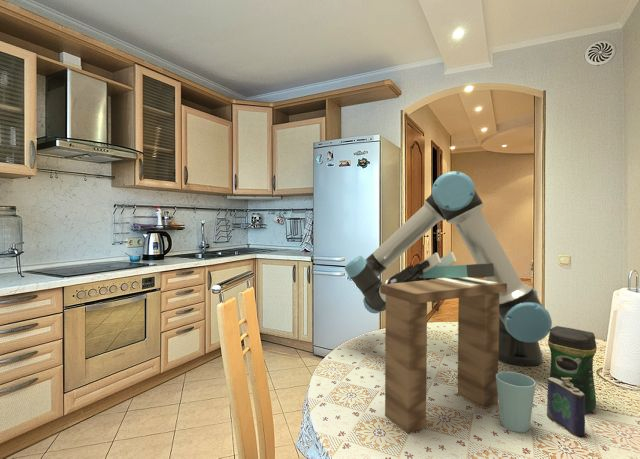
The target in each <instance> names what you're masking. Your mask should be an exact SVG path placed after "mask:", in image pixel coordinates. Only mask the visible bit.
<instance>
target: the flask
mask: <svg viewBox="0 0 640 459" xmlns="http://www.w3.org/2000/svg"><path fill="white" fill-rule="evenodd" d="M549 377H550V376H549ZM549 377H548V378H547V381H546V382H547V397H546V398H547V400H546V402H547V403H546V417H547V418H548V419H550V420H551V421H553V422H555V423H556V424H557V425H558V426H559V427H562V428H564V430H566V431H567V432H569V433H570V434H572V436H573V437H577V438H580V439H582V438H583V439H584V438H586V418H585V417H586V412H585V395H584V393H582V392H581V391H580V390H579V389H577V388H575V387H573V386H574V385H573V384H572V383H571V382H570V379H572V378H569V377H567V378H562V377H561V379H562V380H563V381H561V380H559V379H556V378H552V377H550V378H549Z"/></svg>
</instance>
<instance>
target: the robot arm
mask: <svg viewBox="0 0 640 459" xmlns="http://www.w3.org/2000/svg"><path fill="white" fill-rule="evenodd" d="M423 202H424V203H423V206H422V207H420V208H419V209H418V210H417V211H416V212H415V213H414V214H413V215H412V216H410V218H409V219H407V221H405V223H403V224H402V225H401V226H399V228H398V229H397V230H396V231H395V232H393V233H392V234H391V236H389V237H388V238H387V239H386V240H385V241H384V242H383V243H382V244H381V245H379V247H378V248H376V249H375V250H374V251H373V252H372V253H371V254H370V255H368V257H367V258H365V257H363V256H362V255H358V256H357V257H355V258H353V259H351V261H349V262H348V263H347V264H346V265H345V266H344V270H345V271H346V273H347V275H348V277H349V278H350V279H351V280H352V282H353V283H354V285H356V287H357V289H358V290H359V291H360V292H361V293H362V295H363V299H362V300H363V305H364V308H365V309H366V310H367V311H368V312H369V313H371V314H379V313H382V312H385V311H386V295H385V294H382V293H381V284H392V283H402V282H413V281H423V280H434V279H435V278H419V276H421V275H423V272H427V271H428V270H430V269H431V268H433V267H435V266H449V265H453V264H455V263H457V258H456V256H455V252H454V251H450V252H449V253H447V254H446V255H444V256H442V257H441V258H440V256H439V252H434V253H433V254H432V255H430V256H428V257H426V258H425V259H424V260H423V261H421V262H420V263H416V264H415V265H413V264H409V266H407V267H405V268H404V269H403V270H401V271H400V272H397V273H395V274H393V275H392V276H391V277H390V278H388V279H386V280H385V281H383V282H382V280H381V278H379V276H380V275H381V274H382V273H383V272H385V270H387V268H389V266H391V265H392V264H393V263H394V262H395V261H397V259H399V258H400V257H401V256H402V255H403V254H404V253H406V251H408V250H409V249H410V248H412V246H413V245H414V244H416V242H418V241H419V240H420V239H421V238H423V236H424V235H425V234H427V233H428V232H429V231H430V230H431V229H433V227H434V226H435V225H437V224H438V223H439V222H441V221H446V222H447V223H448V224H452V225H453V226H454V227H455V228H456V230H457V232H458V234H459V235H460V237H461V239H462V241H463V242H464V244H465V246H466V248H467V249H468V252H469V253H470V255H471V257H472V258H473V260H474V262H475V264H488V263H493V268H494V276H493V277H483V279H485V280H490V281H496V282H502V283H507V292H501V293H499V359H498V361H500V362H503V363H506V364H510V365H515V366H525V367H528V366H529V367H530V366H531V367H532V366H533V367H534V366H537V365H541V364H542V363H543V353H542V350H541V346H540V343H539V341H541V340H543V339H545V338H546V337H547V336H549V333H550V330H551V329H552V328H553V327H552V325H553V323H552V322H553V321H552V316H551V315H550V312H549V311H548V310H547V309H546V307H544V306H543V304H542V303H541V301H540V299H539V296H538V291H537V290H536V289H535V288H532V286H531V285H529V284H526V283H523V281H522V280H521V278H520V275H519V274H518V273H517V271H516V269H515V267H514V265H513V264H512V262H511V260H510V258H509V257H508V254H506V251H505V250H504V248H503V247H502V245H501V244H500V241H499V240H498V238H497V236H496V234H495V232H494V230H493V229H492V228H491V225H490V223H489V222H488V221H487V219H486V217H485V216H484V214H483V212H482V210H483V207H484V202H483V201H482V199H481V197H480V196H479V194H478V192H477V190H476V187H475V183H474V181H473V180H472V178H471V177H470V176H469V175H468V174H466V173H464V172H461V171H458V170H457V171H456V170H454V171H453V170H452V171H447V172H445V173H442V174H440V176H439V177H437V178H436V180H435V181H434V183H433V185H432V188H431V194H430V195H429V196H428V197H427V198H426V199H425V200H424V201H423ZM422 270H423V272H422Z"/></svg>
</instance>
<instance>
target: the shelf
mask: <svg viewBox="0 0 640 459" xmlns="http://www.w3.org/2000/svg"><path fill="white" fill-rule="evenodd" d="M501 292H507V283H502V282H496V281H490V280H485V278H480V277H464V278H434V279H432V280H423V281H413V282H402V283H392V284H381V293H382V294H385V295H386V310H385V343H384V344H385V346H384V347H385V354H384V356H385V360H384V361H385V362H384V364H385V366H384V367H385V368H384V369H385V370H384V374H385V375H384V380H385V382H384V386H385V387H384V388H385V389H384V390H385V391H384V395H385V396H384V416H385V418H388V419H389V420H391V421H392V423H393V424H395V425H396V426H398V427H399V428H400V429H401V430H403V431H404V432H405V433H407V434H411V433H413V432H414V433H415V432H417V431H420V430H423V429H426V428H427V373H428V371H427V369H428V368H427V366H428V365H427V364H428V358H427V356H428V355H427V354H428V347H427V345H428V335H427V334H428V303H430V302H432V303H433V302H438V301H439V302H440V301H445V300H447V301H448V300H455V299H458V303H457V304H458V310H457V311H458V313H457V314H458V317H457V318H458V320H457V323H458V324H457V325H458V326H457V328H458V329H457V334H458V335H457V395H458V396H459V397H462V398H464V399H466V400H467V401H469V402H471V403H473V404H475V405H476V406H479V407H480V408H482V409H486V408H489V407H492V406H496V405H499V402H498V392H497V383H496V374H497V373H499V360H498V359H499V293H501Z"/></svg>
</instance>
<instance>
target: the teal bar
mask: <svg viewBox="0 0 640 459" xmlns="http://www.w3.org/2000/svg"><path fill="white" fill-rule="evenodd" d="M422 272H423V270H422ZM493 276H494V268H493V263H488V264H476V263H473V264H470V263H469V264H454V265H453V264H451V265H449V266H435V267H433V268H431V269H430V270H428V271H427V272H423V275H421V276H419V278H434V279H436V278H464V277H473V278H484V277H493Z"/></svg>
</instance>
